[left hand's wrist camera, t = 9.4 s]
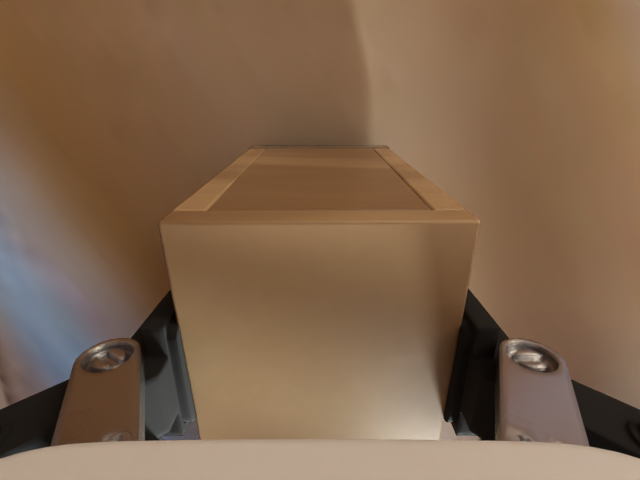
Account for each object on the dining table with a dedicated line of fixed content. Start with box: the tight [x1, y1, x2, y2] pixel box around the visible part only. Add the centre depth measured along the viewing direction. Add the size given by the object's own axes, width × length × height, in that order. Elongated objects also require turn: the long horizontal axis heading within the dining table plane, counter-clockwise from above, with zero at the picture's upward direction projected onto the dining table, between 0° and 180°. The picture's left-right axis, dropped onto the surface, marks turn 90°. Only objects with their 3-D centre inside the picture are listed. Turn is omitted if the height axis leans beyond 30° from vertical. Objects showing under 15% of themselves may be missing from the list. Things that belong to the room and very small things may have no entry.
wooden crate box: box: [158, 146, 480, 440], centre depth 16 cm, size 20×6×11 cm, turn 0°
